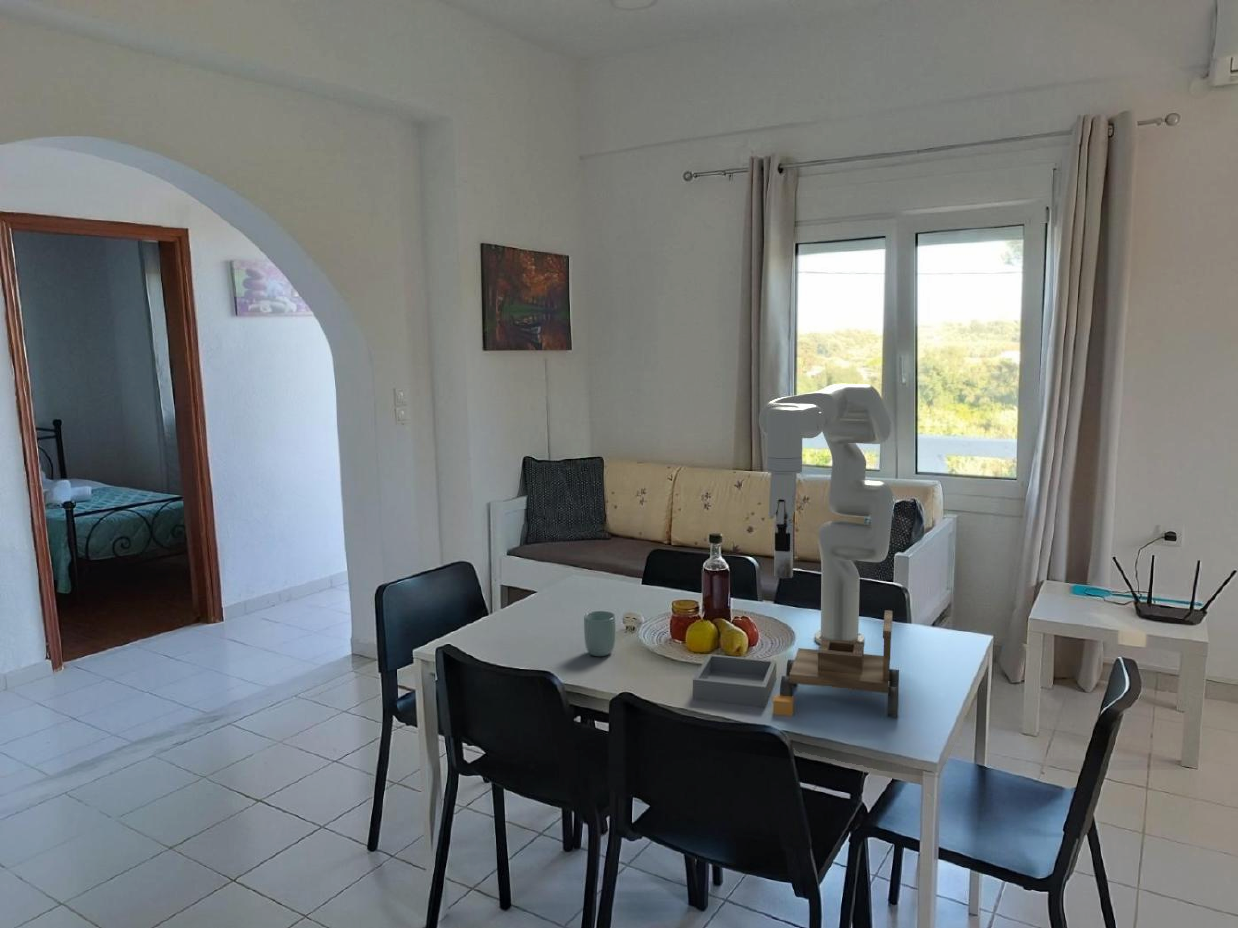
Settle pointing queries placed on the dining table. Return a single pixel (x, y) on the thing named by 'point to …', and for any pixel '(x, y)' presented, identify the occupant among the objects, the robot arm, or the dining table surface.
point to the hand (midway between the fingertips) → (783, 547)
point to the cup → (599, 632)
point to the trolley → (845, 668)
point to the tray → (735, 680)
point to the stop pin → (784, 558)
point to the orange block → (783, 705)
